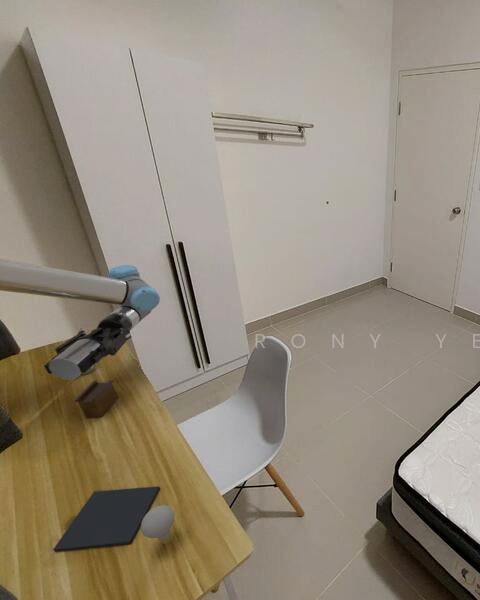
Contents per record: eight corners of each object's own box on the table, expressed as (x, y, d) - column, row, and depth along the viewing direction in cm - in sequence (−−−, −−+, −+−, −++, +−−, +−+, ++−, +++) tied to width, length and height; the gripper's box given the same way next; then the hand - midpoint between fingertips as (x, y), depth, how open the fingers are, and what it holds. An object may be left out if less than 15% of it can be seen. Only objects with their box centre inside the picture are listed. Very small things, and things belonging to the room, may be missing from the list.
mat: (55, 552, 66) (52, 549, 66) (95, 493, 77) (93, 491, 76) (131, 544, 68) (129, 541, 68) (160, 488, 79) (159, 486, 78)
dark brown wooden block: (84, 418, 95) (74, 399, 92) (102, 398, 102) (93, 380, 99) (104, 417, 96) (94, 399, 93) (120, 397, 103) (112, 379, 100)
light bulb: (158, 561, 66) (143, 534, 61) (147, 542, 69) (132, 515, 64) (187, 538, 70) (175, 511, 65) (176, 521, 73) (163, 494, 68)
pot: (54, 380, 87) (41, 358, 84) (81, 357, 96) (71, 336, 92) (86, 379, 88) (75, 357, 85) (110, 357, 97) (101, 335, 93)
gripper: (155, 332, 109) (111, 378, 89) (88, 333, 106) (27, 381, 86) (149, 313, 106) (102, 356, 86) (79, 313, 103) (13, 358, 83)
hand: (64, 369), depth 86 cm, fingers closed on pot, 7 cm apart
